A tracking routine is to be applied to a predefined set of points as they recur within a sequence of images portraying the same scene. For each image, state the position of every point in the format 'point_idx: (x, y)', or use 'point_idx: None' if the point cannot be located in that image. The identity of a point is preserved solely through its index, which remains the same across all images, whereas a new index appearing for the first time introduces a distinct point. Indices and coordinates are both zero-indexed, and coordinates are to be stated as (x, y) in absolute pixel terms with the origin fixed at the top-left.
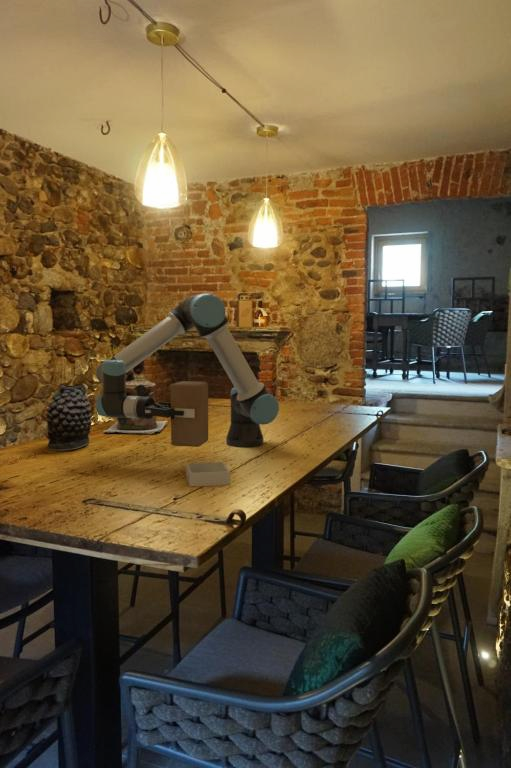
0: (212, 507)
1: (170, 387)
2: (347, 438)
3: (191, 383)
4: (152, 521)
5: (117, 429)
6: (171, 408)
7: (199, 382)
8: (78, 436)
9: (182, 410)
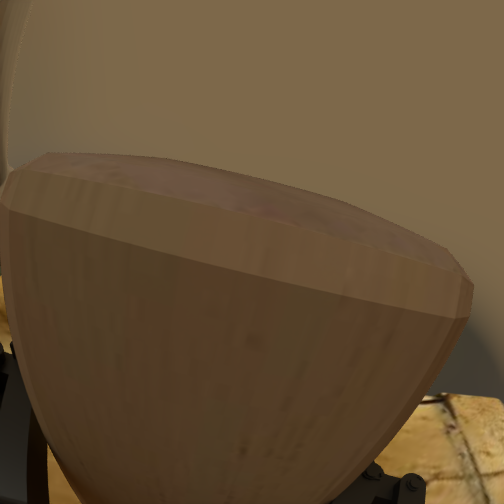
0: (420, 426)
1: (455, 326)
2: None
3: (309, 193)
4: (493, 458)
5: None
6: (373, 475)
7: (216, 169)
8: None
9: None
